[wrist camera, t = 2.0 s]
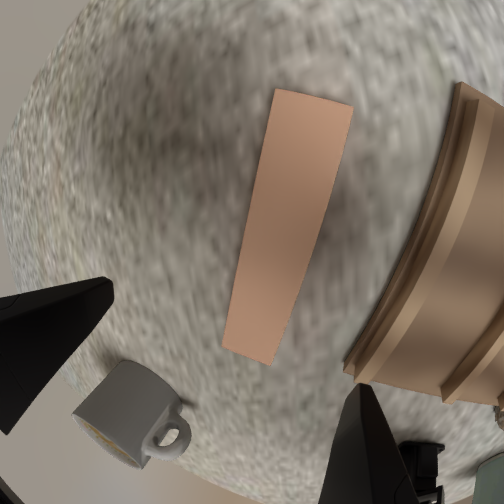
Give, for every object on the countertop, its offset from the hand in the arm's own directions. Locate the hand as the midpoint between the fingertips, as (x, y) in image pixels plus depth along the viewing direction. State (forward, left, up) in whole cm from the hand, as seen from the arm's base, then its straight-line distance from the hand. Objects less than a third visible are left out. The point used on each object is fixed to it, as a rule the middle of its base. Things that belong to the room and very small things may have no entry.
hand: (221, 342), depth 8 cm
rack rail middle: (+2, -16, -10) cm, 19 cm away
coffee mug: (-25, +9, -10) cm, 28 cm away
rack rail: (+2, -8, -10) cm, 13 cm away
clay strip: (0, 0, -10) cm, 10 cm away
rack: (+2, -16, -10) cm, 19 cm away
